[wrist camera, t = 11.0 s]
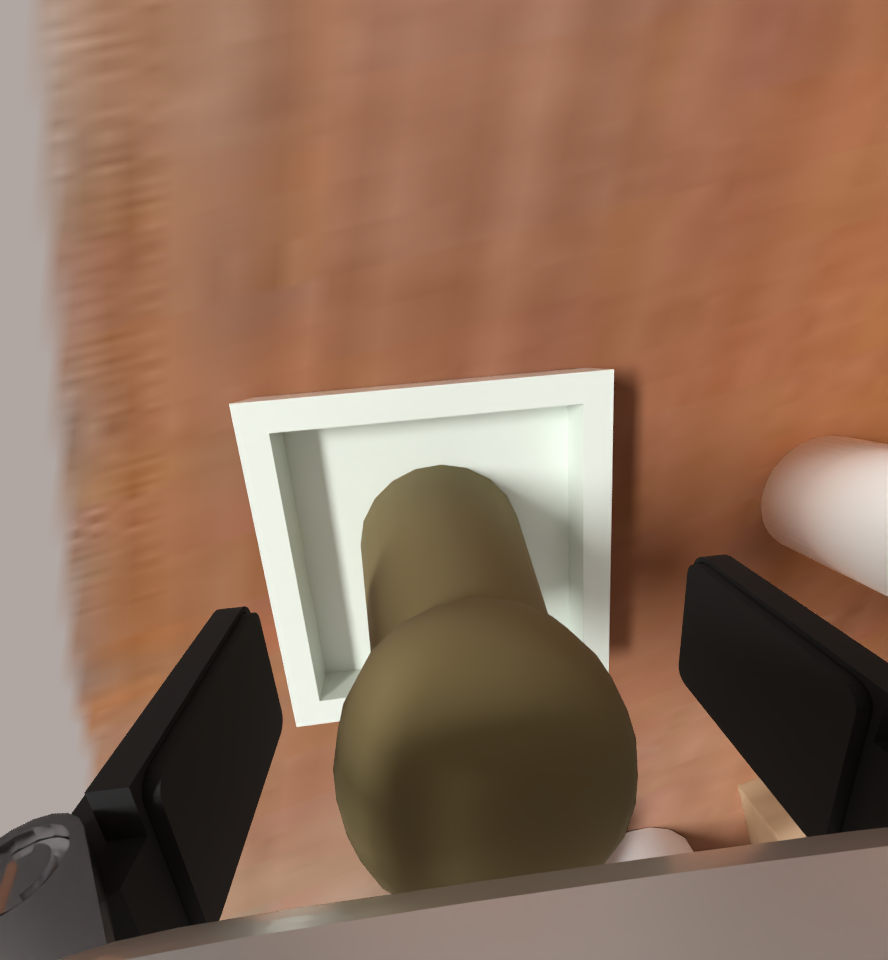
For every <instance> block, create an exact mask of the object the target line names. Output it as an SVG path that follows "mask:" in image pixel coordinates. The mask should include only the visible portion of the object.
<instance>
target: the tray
mask: <svg viewBox="0 0 888 960" xmlns="http://www.w3.org/2000/svg"><path fill="white" fill-rule="evenodd" d="M613 402H614V369H599V368H579V369H568V370H556V371H545V372H534V373H523V374H512V375H501V376H489V377H478V378H467V379H456V380H445V381H433V382H422V383H411V384H400V385H389V386H378V387H366V388H355V389H344V390H333V391H322V392H311V393H299V394H288V395H277V396H266V397H255V398H250V399H246V400H242V401H238V402H235V403H231V404H229V406H230V411H231V416H232V420H233V425H234V430H235V435H236V440H237V444H238V449H239V454H240V459H241V463H242V468H243V473H244V478H245V483H246V487H247V492H248V497H249V502H250V506H251V511H252V516H253V521H254V526H255V530H256V535H257V540H258V545H259V550H260V554H261V559H262V564H263V569H264V573H265V578H266V583H267V588H268V593H269V597H270V602H271V607H272V612H273V616H274V621H275V626H276V631H277V636H278V640H279V645H280V650H281V655H282V659H283V664H284V669H285V674H286V679H287V683H288V688H289V693H290V698H291V703H292V707H293V712H294V717H295V722H296V726H297V727H300V726H307V725H315V724H322V723H330V722H337V721H340V717H341V712H342V707H343V703H344V701H345V699H346V697H347V695H348V693H349V692H350V690H351V688H352V686H353V684H354V682H355V680H356V678H357V676H358V675H359V673H360V671H361V669H362V667H363V665H364V663H365V662H366V660H367V658H368V656H369V654H370V652H371V651H370V640H369V630H368V619H367V608H366V598H365V587H364V577H363V566H362V555H361V537H362V529H363V521H364V519H365V517H366V515H367V513H368V511H369V509H370V507H371V505H372V503H373V501H374V499H375V498H376V497H377V496H378V495H379V494H380V493H381V492H382V491H383V490H384V489H385V488H386V487H387V486H388V485H389V484H390V483H391V482H392V481H393V480H395V479H397V478H399V477H401V476H403V475H405V474H407V473H409V472H411V471H413V470H415V469H419V468H424V467H430V466H436V465H449V466H456V467H464V468H468V469H470V470H472V471H474V472H476V473H479V474H481V475H483V476H485V477H487V478H489V479H490V480H491V481H492V482H493V483H494V484H495V485H496V486H497V487H499V488H500V489H501V490H502V491H503V492H504V493H505V494H506V495H507V497H508V499H509V501H510V503H511V505H512V507H513V509H514V511H515V513H516V515H517V517H518V520H519V523H520V527H521V530H522V533H523V536H524V539H525V542H526V546H527V549H528V552H529V555H530V558H531V561H532V565H533V568H534V571H535V574H536V577H537V580H538V583H539V587H540V590H541V593H542V596H543V599H544V602H545V606H546V609H547V612H548V614H549V615H551V616H553V617H554V618H555V619H556V620H558V621H559V622H560V623H562V624H563V625H564V626H565V627H567V628H568V629H569V630H570V631H571V632H572V633H573V634H575V635H576V636H577V637H578V638H579V639H580V640H581V641H582V642H583V643H584V644H585V645H586V646H588V647H589V648H590V649H591V650H592V651H593V652H594V653H595V654H596V655H597V656H598V658H599V659H600V661H601V662H602V664H603V665H604V667H605V668H606V670H607V671H608V673H609V624H610V569H611V513H612V457H613Z"/></svg>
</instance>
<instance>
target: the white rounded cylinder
mask: <svg viewBox="0 0 888 960" xmlns="http://www.w3.org/2000/svg"><path fill="white" fill-rule="evenodd" d="M761 514H762V519H763V522H764V525H765V527H766V529H767V531H768V532H769V534H770V535H771V536H772V537H773V538H774V539H775V540H776V541H777V542H779V543H780V544H782V545H784V546H786V547H788V548H790V549H792V550H794V551H796V552H798V553H800V554H802V555H804V556H806V557H808V558H810V559H812V560H814V561H816V562H818V563H820V564H822V565H825V566H827V567H829V568H831V569H833V570H835V571H837V572H839V573H841V574H843V575H845V576H847V577H849V578H851V579H853V580H855V581H857V582H859V583H861V584H863V585H865V586H867V587H869V588H871V589H873V590H875V591H877V592H879V593H881V594H884V595H886V596H888V444H885V443H879V442H873V441H868V440H862V439H856V438H851V437H845V436H838V435H826V436H820V437H816V438H813V439H810V440H808V441H806V442H803V443H802V444H800V445H798V446H796V447H795V448H794V449H792V450H791V451H790V452H788V453H787V454H786V455H785V456H784V457H783V458H782V459H781V460H780V461H779V463H778V464H777V465H776V466H775V468H774V469H773V471H772V472H771V474H770V476H769V477H768V480H767V482H766V484H765V487H764V490H763V494H762V500H761Z"/></svg>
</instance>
